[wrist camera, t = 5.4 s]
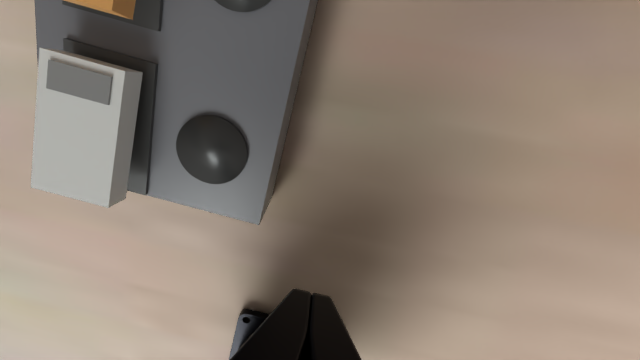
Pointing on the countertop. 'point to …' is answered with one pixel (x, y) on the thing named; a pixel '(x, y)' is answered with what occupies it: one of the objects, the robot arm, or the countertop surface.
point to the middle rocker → (110, 6)
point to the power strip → (199, 91)
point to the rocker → (84, 127)
